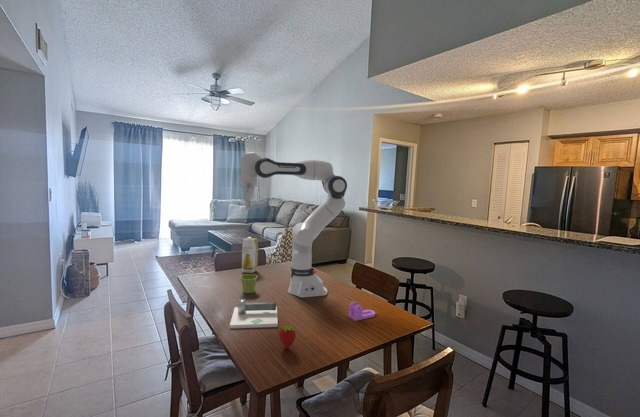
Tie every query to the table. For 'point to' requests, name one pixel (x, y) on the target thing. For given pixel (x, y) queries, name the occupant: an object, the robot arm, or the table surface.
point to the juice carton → (249, 255)
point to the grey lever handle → (254, 306)
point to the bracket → (359, 312)
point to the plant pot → (249, 282)
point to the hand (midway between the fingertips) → (248, 208)
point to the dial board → (254, 319)
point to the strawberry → (287, 336)
